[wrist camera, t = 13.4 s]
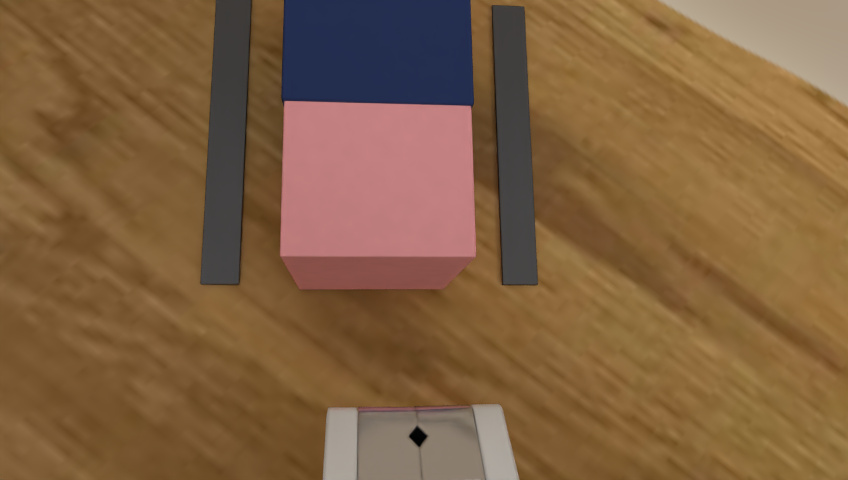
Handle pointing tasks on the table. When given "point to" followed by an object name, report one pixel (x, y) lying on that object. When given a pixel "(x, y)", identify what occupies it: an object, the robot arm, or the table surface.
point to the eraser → (377, 143)
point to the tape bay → (231, 135)
